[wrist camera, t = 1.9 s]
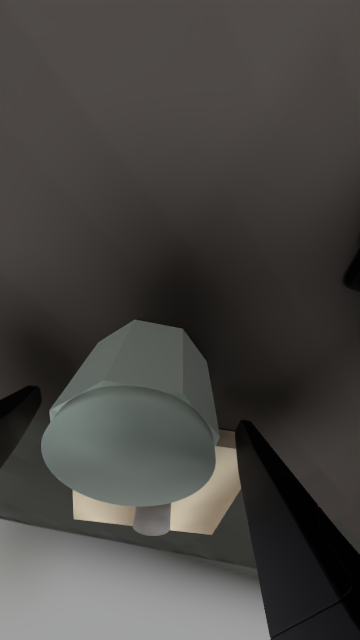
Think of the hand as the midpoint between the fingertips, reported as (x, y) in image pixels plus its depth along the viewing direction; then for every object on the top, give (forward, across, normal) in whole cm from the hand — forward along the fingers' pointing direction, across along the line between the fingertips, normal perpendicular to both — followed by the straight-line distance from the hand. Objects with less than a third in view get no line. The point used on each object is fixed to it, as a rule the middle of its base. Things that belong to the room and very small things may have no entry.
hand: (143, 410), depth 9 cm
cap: (+3, 0, 0) cm, 3 cm away
